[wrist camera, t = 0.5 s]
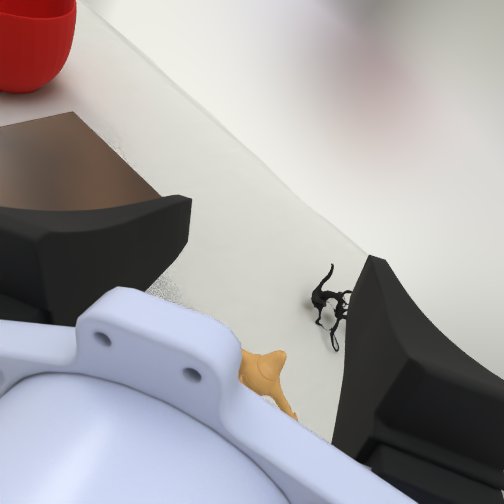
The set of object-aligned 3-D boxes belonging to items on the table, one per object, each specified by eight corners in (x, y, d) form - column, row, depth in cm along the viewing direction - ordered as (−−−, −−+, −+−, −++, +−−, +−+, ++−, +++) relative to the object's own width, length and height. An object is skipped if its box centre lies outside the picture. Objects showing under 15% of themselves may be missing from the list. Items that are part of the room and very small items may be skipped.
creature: (351, 310, 44) (306, 272, 42) (388, 295, 40) (341, 252, 38) (343, 365, 39) (292, 324, 36) (385, 353, 35) (331, 307, 33)
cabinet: (-17, 367, 24) (-35, 320, 18) (-129, 241, 25) (-176, 163, 20) (153, 257, 35) (173, 207, 29) (68, 173, 36) (72, 111, 31)
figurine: (273, 412, 31) (360, 368, 22) (228, 469, 27) (314, 442, 18) (211, 340, 32) (271, 273, 24) (159, 384, 28) (209, 322, 20)
